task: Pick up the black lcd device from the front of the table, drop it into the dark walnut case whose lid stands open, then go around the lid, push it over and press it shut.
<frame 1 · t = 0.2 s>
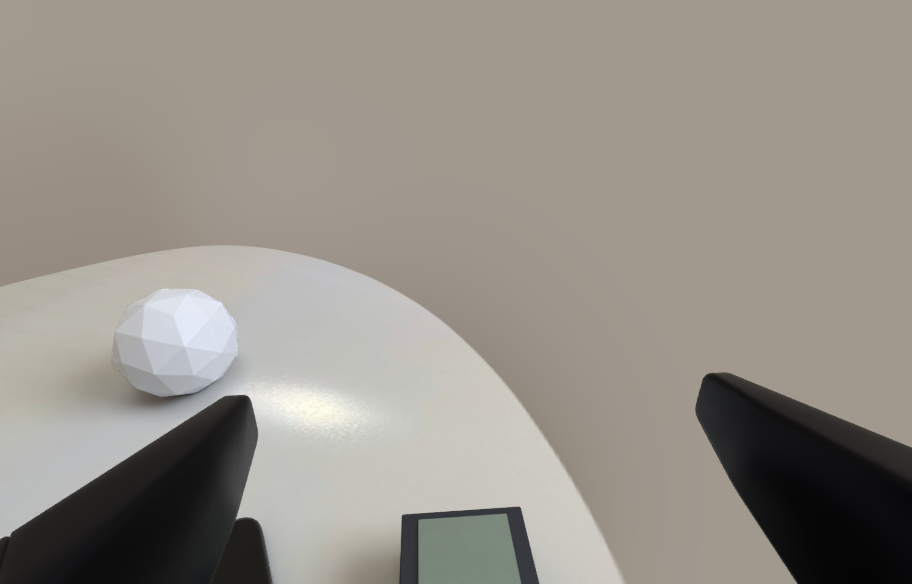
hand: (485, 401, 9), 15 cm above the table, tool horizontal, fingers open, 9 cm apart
geometric ball: (193, 385, 33), on the table
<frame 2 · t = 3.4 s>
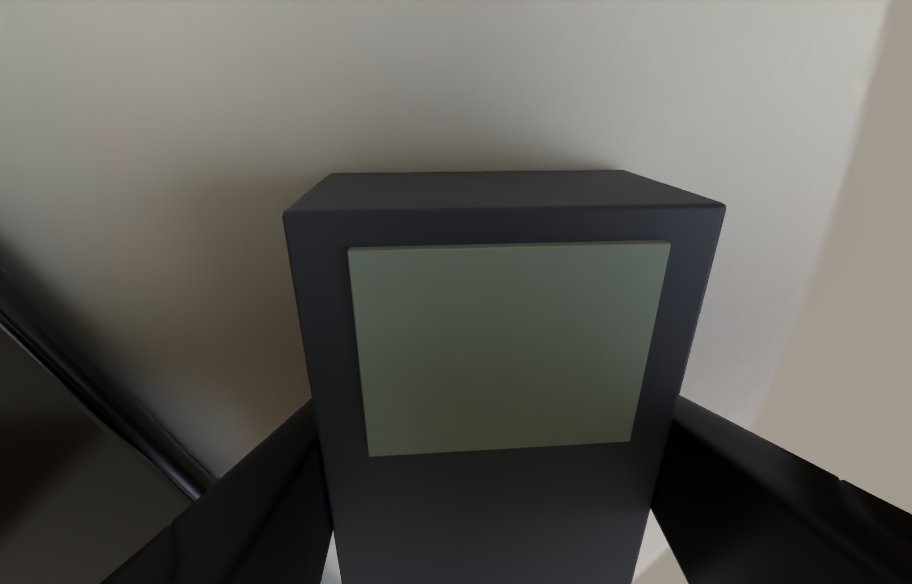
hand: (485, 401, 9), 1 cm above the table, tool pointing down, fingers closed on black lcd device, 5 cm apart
black lcd device: (476, 366, 10), on the table, touching gripper
smartphone: (16, 466, 10), on the table
when the fingers open (4 cm above the table, at t = 9.3 s): black lcd device drops 2 cm, resting on case.
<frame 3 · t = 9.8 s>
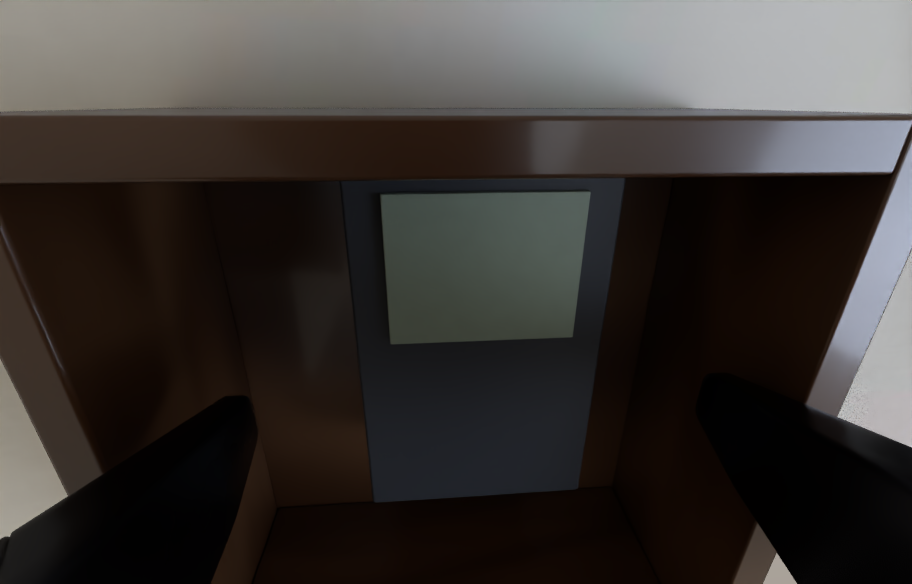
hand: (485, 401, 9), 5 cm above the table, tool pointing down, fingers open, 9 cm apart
black lcd device: (467, 304, 13), point 1 cm above the table, touching case
case: (447, 339, 14), on the table
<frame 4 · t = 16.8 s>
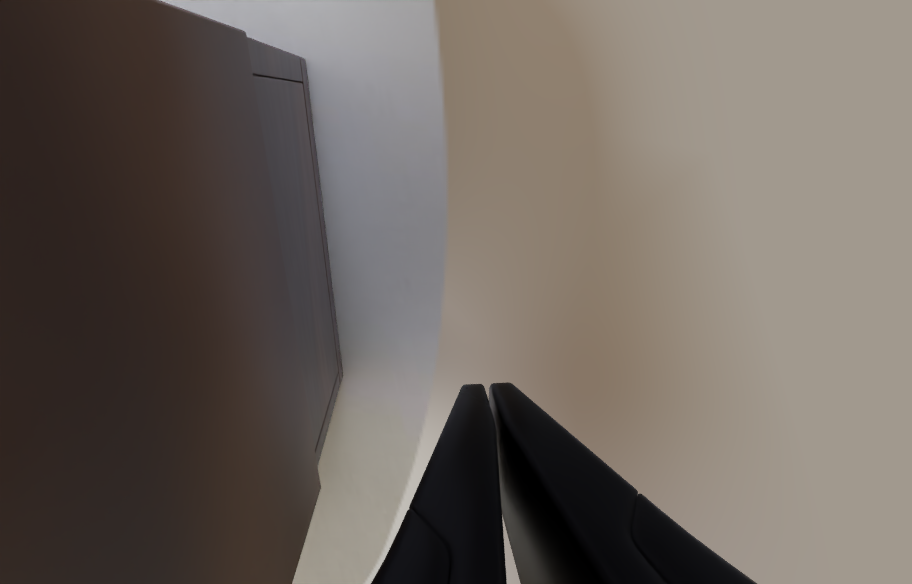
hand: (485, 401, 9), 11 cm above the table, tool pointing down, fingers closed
case: (158, 243, 18), on the table
case lid: (99, 556, 6), point 14 cm above the table, hinge at 87.7°, touching gripper
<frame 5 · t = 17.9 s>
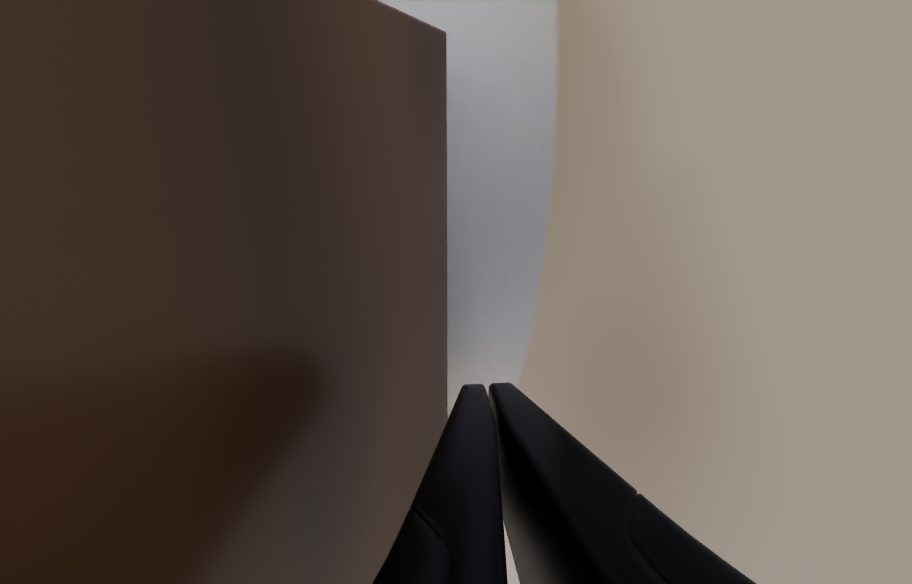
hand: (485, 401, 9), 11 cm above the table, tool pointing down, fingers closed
case lid: (275, 514, 6), point 13 cm above the table, hinge at 69.0°, touching gripper
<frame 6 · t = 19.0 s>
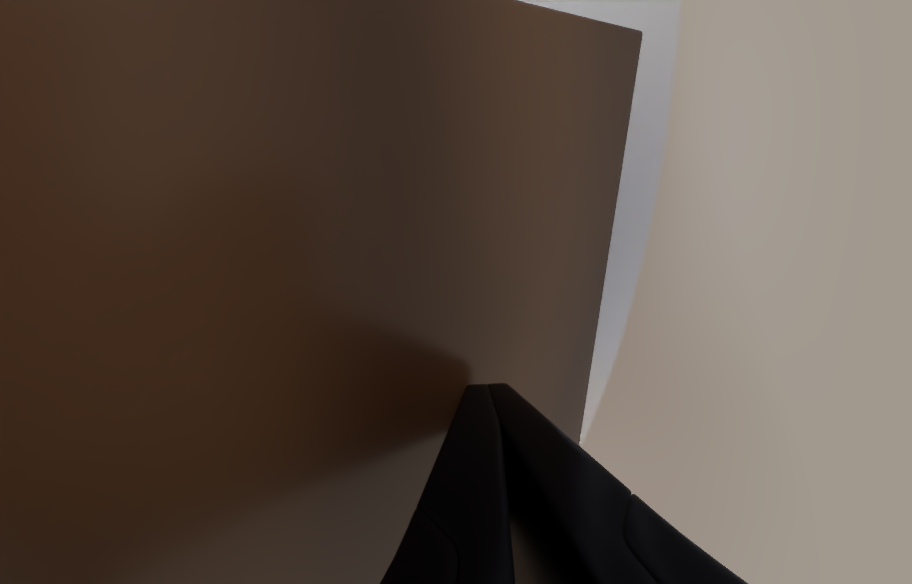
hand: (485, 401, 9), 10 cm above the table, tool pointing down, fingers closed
case lid: (369, 448, 7), point 11 cm above the table, hinge at 39.3°, touching gripper
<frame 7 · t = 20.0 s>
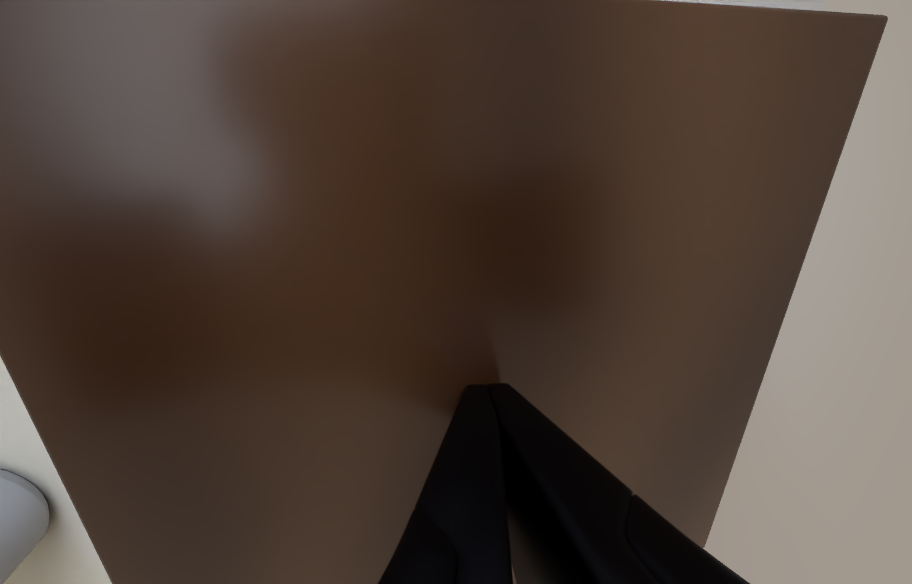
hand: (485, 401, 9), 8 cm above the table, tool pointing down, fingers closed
beverage can: (0, 497, 19), on the table
case lid: (476, 390, 9), point 8 cm above the table, hinge at 9.5°
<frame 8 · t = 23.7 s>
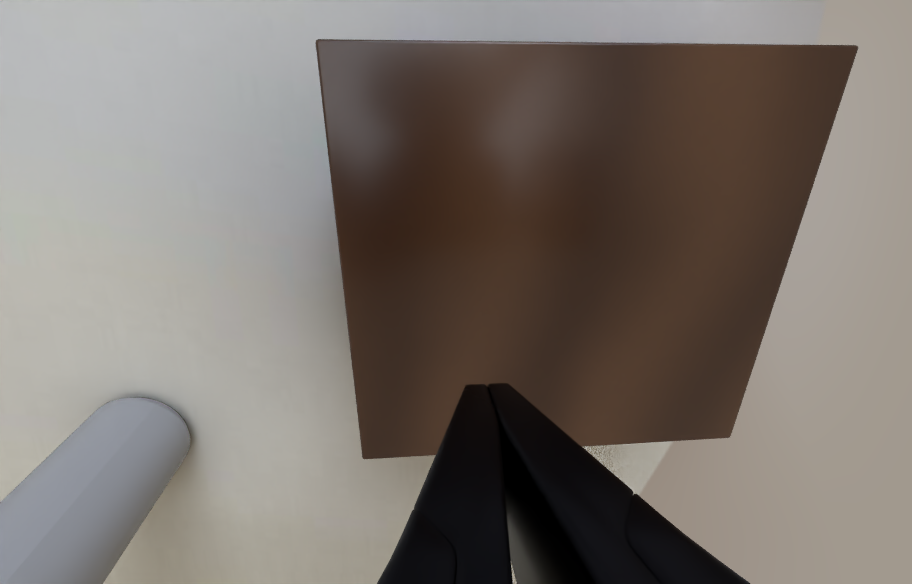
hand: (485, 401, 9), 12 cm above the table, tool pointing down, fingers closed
beverage can: (149, 425, 23), on the table
case lid: (568, 282, 14), point 7 cm above the table, hinge at 0.0°
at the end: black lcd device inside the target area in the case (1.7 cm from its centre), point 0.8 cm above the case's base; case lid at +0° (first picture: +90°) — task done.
